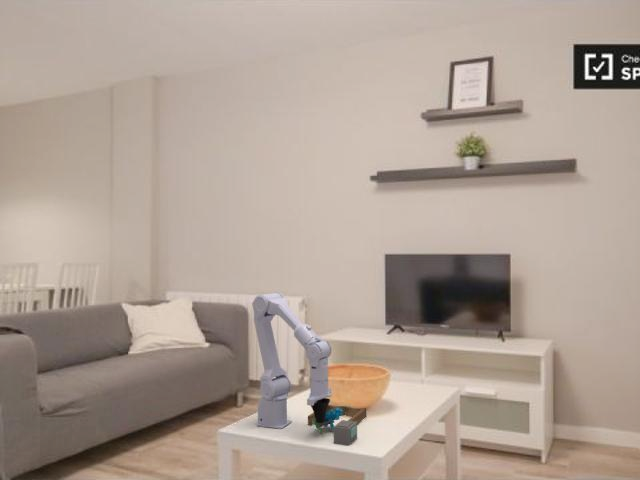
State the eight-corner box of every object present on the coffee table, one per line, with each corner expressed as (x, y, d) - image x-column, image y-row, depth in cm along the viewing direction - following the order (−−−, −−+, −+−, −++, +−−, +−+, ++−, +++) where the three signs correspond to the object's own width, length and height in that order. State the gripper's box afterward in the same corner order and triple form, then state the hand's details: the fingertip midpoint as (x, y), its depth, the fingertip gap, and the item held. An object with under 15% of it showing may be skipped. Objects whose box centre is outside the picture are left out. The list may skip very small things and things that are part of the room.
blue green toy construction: (337, 418, 192) (344, 403, 185) (345, 434, 189) (352, 419, 182) (307, 427, 188) (313, 412, 181) (314, 444, 184) (320, 429, 177)
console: (333, 443, 173) (333, 426, 173) (342, 436, 180) (341, 419, 180) (349, 445, 171) (349, 428, 171) (357, 438, 177) (357, 421, 177)
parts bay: (307, 425, 191) (307, 415, 191) (325, 412, 205) (325, 403, 205) (351, 430, 185) (350, 420, 185) (366, 417, 199) (366, 407, 199)
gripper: (321, 385, 173) (322, 430, 173) (339, 375, 186) (340, 417, 186) (300, 384, 176) (301, 428, 176) (319, 373, 189) (320, 414, 189)
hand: (320, 422), depth 181 cm, fingers closed
